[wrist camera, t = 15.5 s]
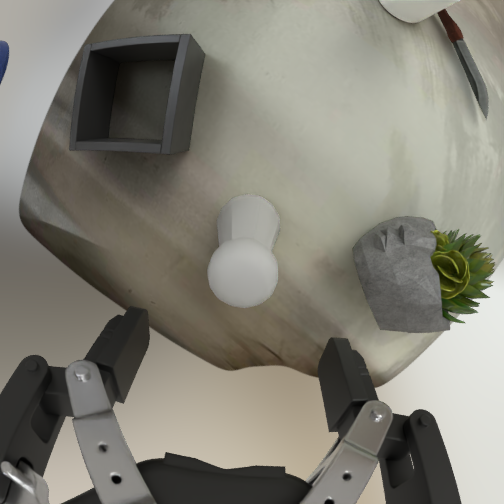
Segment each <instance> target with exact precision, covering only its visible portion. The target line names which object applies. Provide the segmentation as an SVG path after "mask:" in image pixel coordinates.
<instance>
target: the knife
mask: <svg viewBox="0 0 504 504" xmlns="http://www.w3.org/2000/svg"><path fill="white" fill-rule="evenodd" d="M437 13H438V16H439V17H440V19H441V21H442V23H443V25H444V27H445V29H446V31H447V34H448V37H449V39H450V41H451V42H452V43H453V45H454V48H455V50H456V52H457V55H458V57H459V59H460V62H461V64H462V66H463V68H464V71H465V73H466V75H467V78H468V80H469V83H470V85H471V87H472V90H473V92H474V94H475V96H476V99H477V101H478V103H479V106H480V108H481V110H482V112H483V114H484V116H485V118H486V120H487V116H488V93H487V88H486V85H485V83H484V81H483V78H482V76H481V74H480V72H479V70H478V68H477V66H476V64H475V62H474V60H473V58H472V56H471V54H470V51H469V49H468V47H467V45H466V43H465V41H464V40H463V35H462V32H461V30H460V29H459V27H458V26H457V24H456V23H455V22H454V21H453V20H452V18H451V17H450V16H449V14H448V13H447V11H446V9H443V10H441V11H439V12H437Z"/></svg>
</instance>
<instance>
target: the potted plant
mask: <svg viewBox="0 0 504 504" xmlns="http://www.w3.org/2000/svg"><path fill="white" fill-rule="evenodd" d="M458 231H459V229H458V230H457V231H456V232H455V231H454V232H452V230H451V231H450V233H449V234H448V235H446V234H445V233H446V232H444V233H443V234H442V233H441V232H439V231H438V230H437V229H436V227H435V225H434V222H433V221H431V220H428V219H425V218H420V217H408V216H406V217H396V218H393V219H391V220H388V221H385V222H383V223H380V224H378V225H377V226H376V227H375V228H373V229H372V230H371V231H369V232H368V233H367V234H365V235H364V236H363V237H361V238H360V240H359V241H358V242H357V243H356V245H355V246H354V247H353V256H354V262H355V266H356V269H357V273H358V276H359V279H360V282H361V285H362V288H363V291H364V294H365V296H366V299H367V302H368V304H369V306H370V308H371V310H372V313H373V315H374V317H375V319H376V322H377V324H378V326H379V328H380V330H389V331H401V332H408V333H430V332H438V331H446V330H450V321H453V322H458V323H465V322H463V321H460V320H458V319H456V318H454V317H453V316H451V315H450V314H448V311H449V312H452V313H456V314H472V313H475V312H476V313H478V312H477V311H476V310H474V309H472V308H470V307H478V304H480V303H477V302H474V301H472V300H470V299H468V298H472V299H476V298H490V297H488V296H487V295H485V294H484V293H483V292H481V290H484V289H486V288H488V287H491V286H493V285H491V283H493V281H492V282H491V281H489V280H485V279H486V278H487V277H488V276H490V275H491V274H493V272H494V271H495V270H494V269H492V268H493V267H494V265H495V264H494V263H495V262H494V263H490V262H491V261H492V260H494V259H491V256H492V255H491V256H489V255H490V254H491V253H489V254H487V252H481V251H484V250H486V249H488V247H487V248H478V247H479V246H480V245H481V244H482V243H480V244H478V245H476V246H474V244H475V242H476V241H477V240H478V239H479V238H480V236H479V235H476V236H473V235H474V234H473V235H470V236H468V237H466V238H465V235H466V234H464V235H462V236H461V237H460V238H458V239H457V240H455V239H456V236H457V234H458ZM453 234H454V235H453ZM471 236H473V237H471ZM470 237H471V238H470ZM464 238H465V239H464ZM469 238H470V239H469ZM487 256H489V257H488V258H486V257H487ZM489 263H490V264H489ZM493 270H494V271H493ZM491 271H492V272H491ZM490 272H491V273H490ZM466 297H467V298H466Z"/></svg>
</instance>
